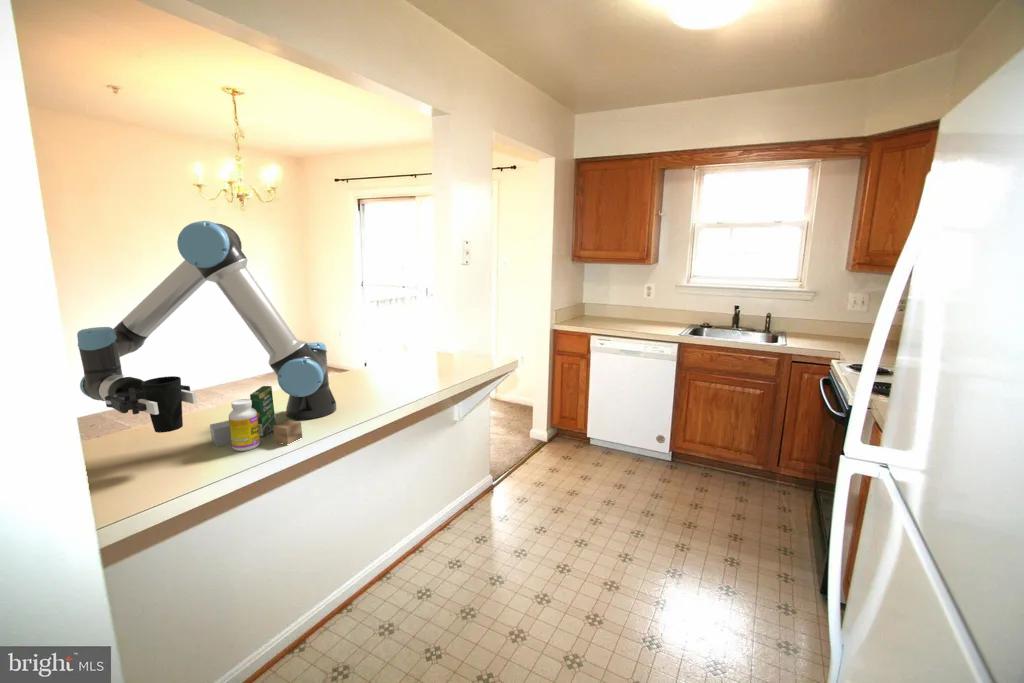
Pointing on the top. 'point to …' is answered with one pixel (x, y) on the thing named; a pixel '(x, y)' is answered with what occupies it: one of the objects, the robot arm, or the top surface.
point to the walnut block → (287, 432)
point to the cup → (165, 402)
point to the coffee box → (264, 409)
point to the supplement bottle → (244, 426)
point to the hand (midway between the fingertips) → (175, 403)
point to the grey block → (220, 433)
